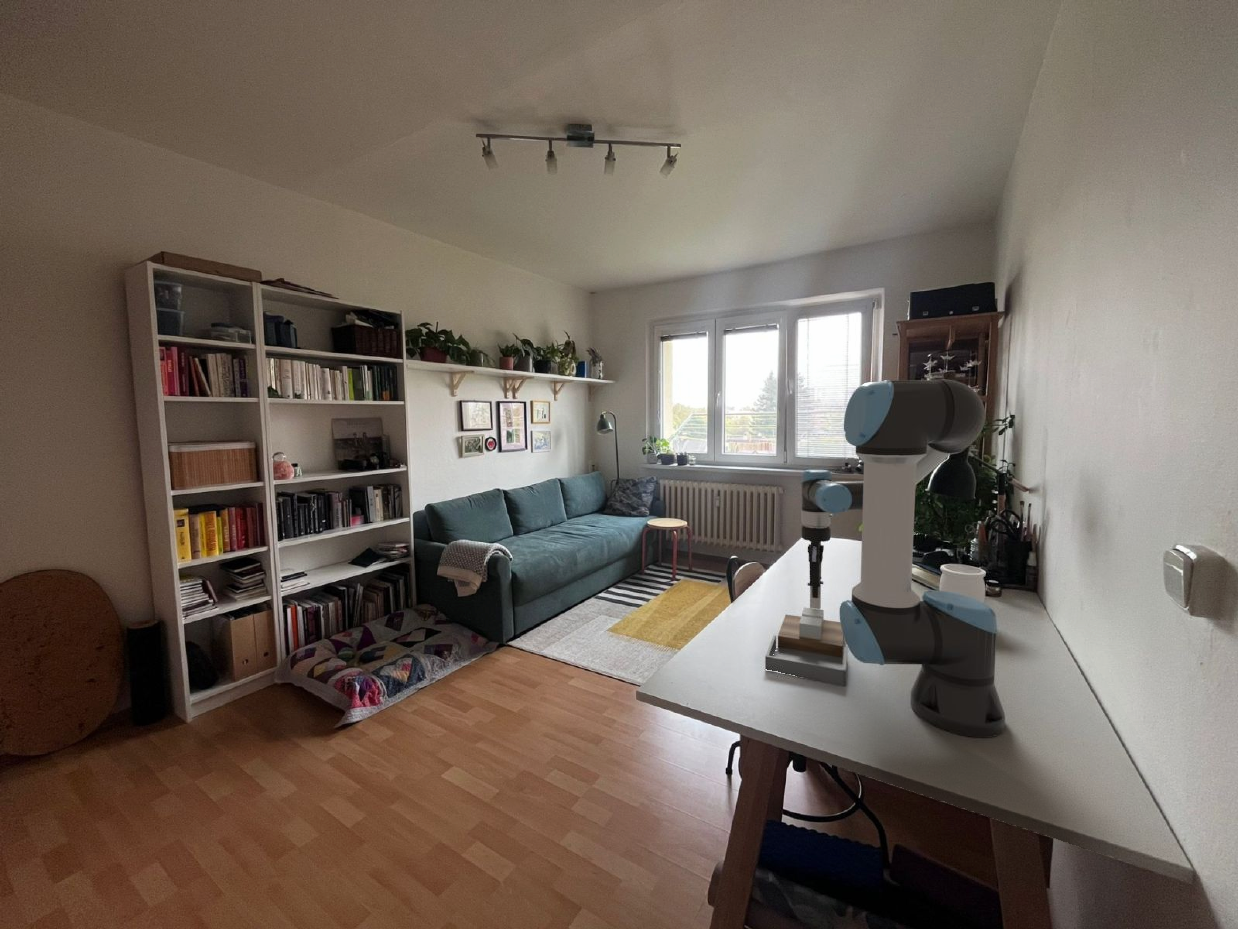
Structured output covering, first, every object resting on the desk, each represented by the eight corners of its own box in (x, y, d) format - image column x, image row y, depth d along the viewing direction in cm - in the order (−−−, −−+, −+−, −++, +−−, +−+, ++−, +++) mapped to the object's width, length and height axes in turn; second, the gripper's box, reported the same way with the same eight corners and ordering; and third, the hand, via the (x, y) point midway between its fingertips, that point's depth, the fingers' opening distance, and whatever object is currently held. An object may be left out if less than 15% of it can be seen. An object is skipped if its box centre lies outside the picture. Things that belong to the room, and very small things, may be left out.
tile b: (822, 629, 127) (822, 616, 127) (801, 626, 129) (802, 614, 129) (823, 622, 131) (823, 610, 131) (803, 619, 133) (803, 607, 133)
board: (842, 660, 118) (842, 646, 117) (777, 649, 124) (777, 635, 124) (844, 635, 131) (844, 622, 131) (785, 626, 138) (785, 614, 137)
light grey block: (820, 640, 121) (820, 626, 121) (799, 636, 123) (799, 623, 123) (822, 632, 125) (822, 618, 125) (801, 629, 128) (801, 616, 127)
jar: (992, 624, 136) (994, 571, 135) (968, 630, 132) (969, 576, 131) (954, 610, 146) (955, 561, 144) (930, 616, 142) (931, 566, 141)
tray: (845, 686, 106) (845, 670, 106) (765, 670, 114) (765, 656, 113) (847, 660, 117) (847, 646, 117) (773, 648, 125) (773, 635, 125)
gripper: (829, 531, 128) (828, 618, 130) (831, 521, 140) (830, 601, 142) (799, 529, 132) (798, 614, 134) (803, 520, 143) (803, 598, 145)
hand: (815, 607), depth 138 cm, fingers closed
